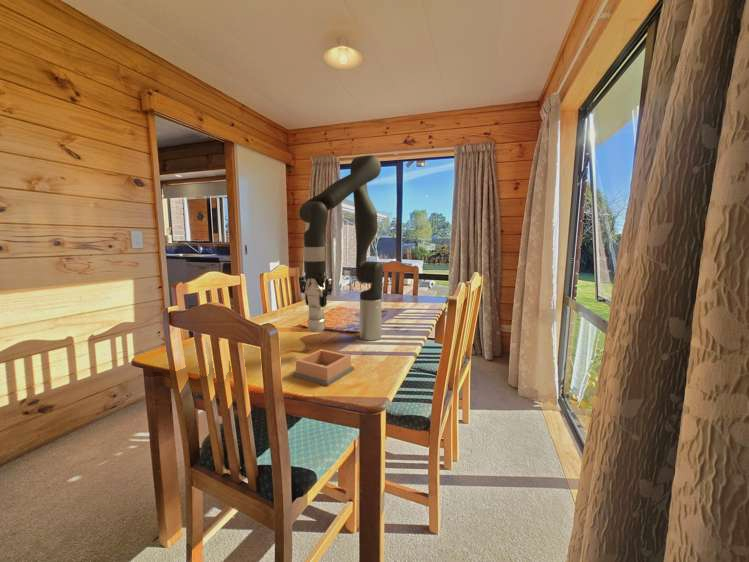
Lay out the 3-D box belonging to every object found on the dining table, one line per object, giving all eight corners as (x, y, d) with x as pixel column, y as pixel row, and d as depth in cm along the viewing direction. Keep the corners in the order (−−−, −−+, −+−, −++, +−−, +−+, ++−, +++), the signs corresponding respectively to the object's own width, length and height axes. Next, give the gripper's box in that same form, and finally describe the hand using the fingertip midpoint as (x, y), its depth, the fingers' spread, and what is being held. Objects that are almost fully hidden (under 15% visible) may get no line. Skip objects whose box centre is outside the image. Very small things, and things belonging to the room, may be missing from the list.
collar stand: (320, 361, 116) (320, 347, 116) (354, 369, 110) (354, 355, 109) (292, 376, 104) (292, 360, 104) (328, 386, 98) (327, 369, 97)
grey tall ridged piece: (303, 332, 120) (302, 278, 117) (314, 327, 126) (313, 275, 123) (318, 335, 117) (317, 279, 114) (329, 329, 123) (328, 276, 120)
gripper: (337, 259, 117) (338, 305, 120) (306, 258, 124) (307, 301, 127) (324, 261, 111) (325, 310, 113) (292, 259, 118) (293, 305, 120)
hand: (315, 305), depth 120 cm, fingers closed on grey tall ridged piece, 6 cm apart
